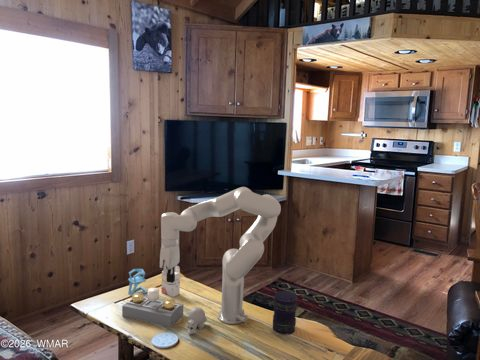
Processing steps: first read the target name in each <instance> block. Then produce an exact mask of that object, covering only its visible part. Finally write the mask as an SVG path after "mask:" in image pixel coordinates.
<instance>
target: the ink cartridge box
mask: <svg viewBox="0 0 480 360" xmlns="http://www.w3.org/2000/svg"><path fill="white" fill-rule="evenodd" d="M180 287H181V268H180V266H179V265H177V266H176V270H175V281H174V282H173V283H170V282H167V274H166V273H163V270H162V271H161V293H162V294H165V295H167V296H170V297H171V298H174V297H176V296H178V295H180V293H181V292H180V290H181V289H180Z"/></svg>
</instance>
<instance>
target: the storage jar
mask: <svg viewBox="0 0 480 360" xmlns="http://www.w3.org/2000/svg"><path fill="white" fill-rule="evenodd" d="M273 298H274V299H273V311H274V312H273V314H272V330H273V331H274V333H276V334H279V335H284V336H287V335H292V334H294V333H295V331H296V324H297V322H296V321H297V319H296V318H297V317H296V313H297V312H296V311H297V309H298V308H297V306H298V303H297V302H298V296H297V295H296V294H295V293H293V292H291V291H287V290H283V291H277V292H275V293H274V297H273Z"/></svg>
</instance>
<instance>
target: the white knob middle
mask: <svg viewBox="0 0 480 360" xmlns="http://www.w3.org/2000/svg"><path fill="white" fill-rule="evenodd" d="M147 291H148V293H147V297H148V300H149V301H156V300H158V299H160V288H158V287H150V288H148V289H147Z"/></svg>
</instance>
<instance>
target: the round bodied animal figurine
mask: <svg viewBox="0 0 480 360" xmlns="http://www.w3.org/2000/svg"><path fill="white" fill-rule="evenodd" d="M187 318H188V321H187V320H186V327H187V334H188V335H190V336H191V335H193V334H194V333H195V330H196V329H197V327H198V329H204V325H205V324H204V323H206V322H207V317H206V312H205V310H204V309H203V307H200V306H199V307H197V306H195V307H192V308H191V309H190V310H189V312H188V315H187Z"/></svg>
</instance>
